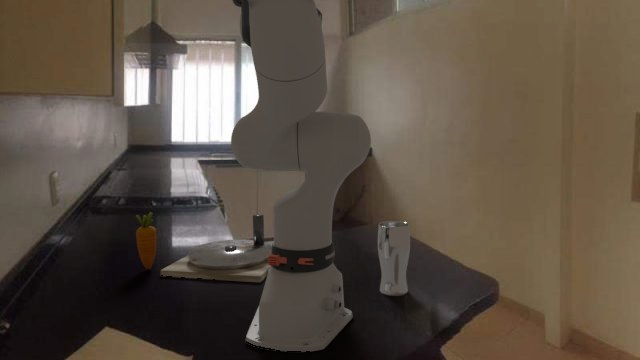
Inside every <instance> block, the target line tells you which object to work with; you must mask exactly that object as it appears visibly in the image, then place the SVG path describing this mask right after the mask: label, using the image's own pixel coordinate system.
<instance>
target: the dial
mask: <svg viewBox="0 0 640 360" xmlns="http://www.w3.org/2000/svg"><path fill="white" fill-rule="evenodd" d="M264 217H265V216H264V214H260V213H259V214H253V215H252V235H253V237H252V238H253V239H226V240H225V239H224V240H216V241H211V242H205V243H202V244H200V245H197V246H193V247H192V248H191V249H189V250H188V253H187V255H188V262H189V263H190V264H191V265H193V266H195V267H198V268H203V269H213V270H228V269H239V268H246V267H251V266H255V265H259V264H262V263H264V262H266V261H268V258H269V257H268V256H269V254H271V251H272V244H270V243H267V242H265V224H264V223H265V221H264Z"/></svg>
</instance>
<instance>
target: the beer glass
mask: <svg viewBox="0 0 640 360" xmlns="http://www.w3.org/2000/svg"><path fill="white" fill-rule="evenodd" d="M377 251H378V258H379V265H380V271H381V279H380V285H379V291H380V293H381V294H383V295H385V296H389V297H390V296H391V297H400V296H404V295H406V294H407V293H408V291H409V289H408V283H407V269H408V268H407V267H408V263H409V258H410V251H411V232H410V223H408V222H406V221H399V220H397V221H396V220H388V221H387V220H386V221H381V222H379V223H378V231H377Z"/></svg>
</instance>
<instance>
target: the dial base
mask: <svg viewBox="0 0 640 360" xmlns="http://www.w3.org/2000/svg"><path fill="white" fill-rule="evenodd" d="M271 267H272V266H269V264H268V261H266V262H264V263H262V264H259V265H255V266H251V267H246V268H239V269H228V270H213V269H203V268H198V267H195V266H193V265H191V264H190V263H189V262H188V254H187V255H185V256H183V257H182V258H180V259H178V260H177V261H175V262H173V263H171V264H170V265H168V266H166V267H164V268H162V269H161V270H160V276H161V275H163V276H162V277H166V276H172V277H171V278H181V277H185V279H197V278H202V279H201V280H213V279H215V281H230V282H232V281H233V282H247V283H248V282H249V283H261V282H262V281H264V280H266V279H267V275H268V270H269V269H270V268H271ZM265 278H266V279H265Z"/></svg>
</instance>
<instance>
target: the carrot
mask: <svg viewBox="0 0 640 360" xmlns="http://www.w3.org/2000/svg"><path fill="white" fill-rule="evenodd" d="M152 217H153V212H151V211H150V212H149V213H148V214H147V215H146V214H144V215H143V216H142V218H141V217H140V215H139V214H136V215H135V218H136V219H137V220H138V222H139V224H140V225H141V226H140V227H138V228H137V229H136V231H135V236H136V237H135V239H136V240H135V241H136V246H137V247H136V248H137V251H138V255H139V258H140V261H141V262H142V265H143V266H144V267H145V269H146V270H147V269H149V270H151V269H152V266H153V264H154V262H155V259H156V255H157V253H156V252H157V247H158V246H157V242H158V241H157V240H158V239H157V238H158V237H157V236H158V235H157V229H156V228H155V227H154V226H152V225H151V224H152V223H153V222H154V219H152Z"/></svg>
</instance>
